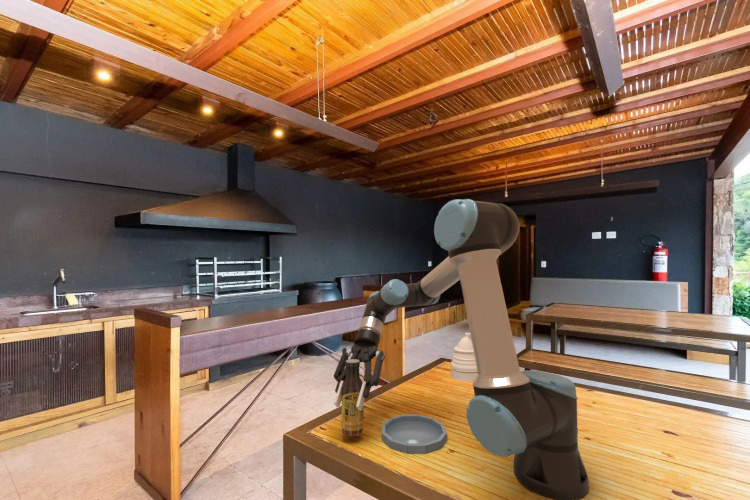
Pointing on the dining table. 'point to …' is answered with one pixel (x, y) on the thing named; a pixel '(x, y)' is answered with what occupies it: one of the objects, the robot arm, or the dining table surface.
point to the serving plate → (414, 434)
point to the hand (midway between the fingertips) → (347, 406)
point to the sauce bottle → (352, 400)
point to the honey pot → (464, 361)
